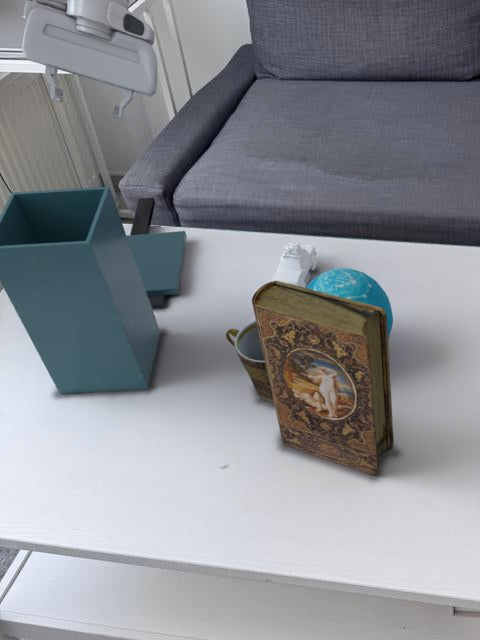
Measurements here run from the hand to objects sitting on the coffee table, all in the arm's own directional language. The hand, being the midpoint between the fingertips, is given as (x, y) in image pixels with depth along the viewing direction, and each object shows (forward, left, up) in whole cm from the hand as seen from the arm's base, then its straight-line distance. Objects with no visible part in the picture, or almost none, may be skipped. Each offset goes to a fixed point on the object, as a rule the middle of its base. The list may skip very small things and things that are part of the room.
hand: (87, 109), depth 122 cm
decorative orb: (+53, +6, -26) cm, 59 cm away
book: (+66, -9, -26) cm, 72 cm away
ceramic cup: (+49, -7, -26) cm, 56 cm away
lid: (+2, 0, -25) cm, 25 cm away
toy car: (+31, +14, -26) cm, 43 cm away
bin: (+25, -21, -25) cm, 42 cm away
